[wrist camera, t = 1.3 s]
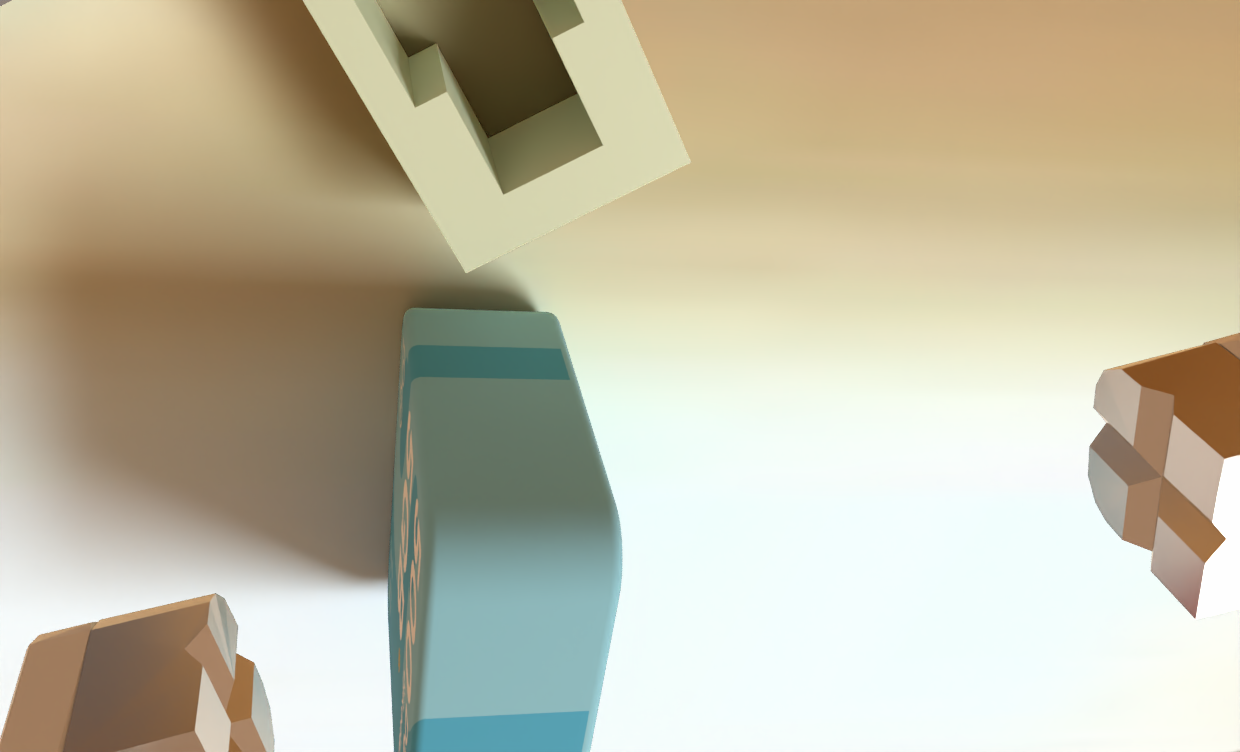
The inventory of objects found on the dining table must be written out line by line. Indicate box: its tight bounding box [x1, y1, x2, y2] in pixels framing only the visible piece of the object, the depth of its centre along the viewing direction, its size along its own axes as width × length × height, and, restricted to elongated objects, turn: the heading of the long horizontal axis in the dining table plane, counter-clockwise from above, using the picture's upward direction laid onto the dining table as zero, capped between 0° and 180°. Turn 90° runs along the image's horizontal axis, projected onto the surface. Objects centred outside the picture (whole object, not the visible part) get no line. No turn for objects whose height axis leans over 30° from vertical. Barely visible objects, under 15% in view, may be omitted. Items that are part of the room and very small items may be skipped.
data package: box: [388, 308, 622, 752], centre depth 33 cm, size 12×4×12 cm, turn 171°
